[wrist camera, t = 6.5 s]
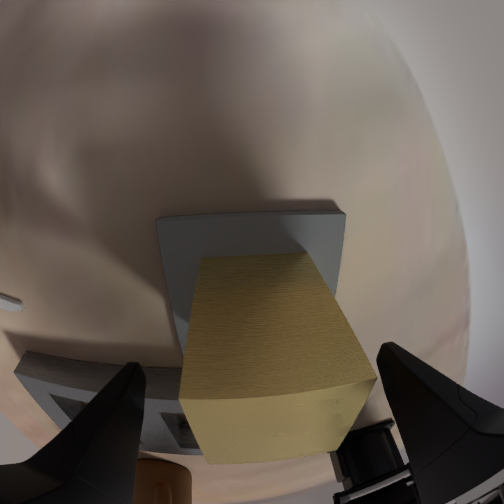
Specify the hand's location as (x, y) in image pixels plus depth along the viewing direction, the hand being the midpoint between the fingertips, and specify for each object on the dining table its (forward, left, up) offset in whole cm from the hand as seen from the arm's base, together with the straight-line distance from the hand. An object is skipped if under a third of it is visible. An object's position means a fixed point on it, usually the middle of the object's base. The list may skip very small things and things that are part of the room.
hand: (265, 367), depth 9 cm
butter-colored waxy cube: (0, 0, -4) cm, 4 cm away
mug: (+11, +25, -5) cm, 28 cm away
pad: (0, 0, -5) cm, 5 cm away
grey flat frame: (+8, +10, -5) cm, 14 cm away
